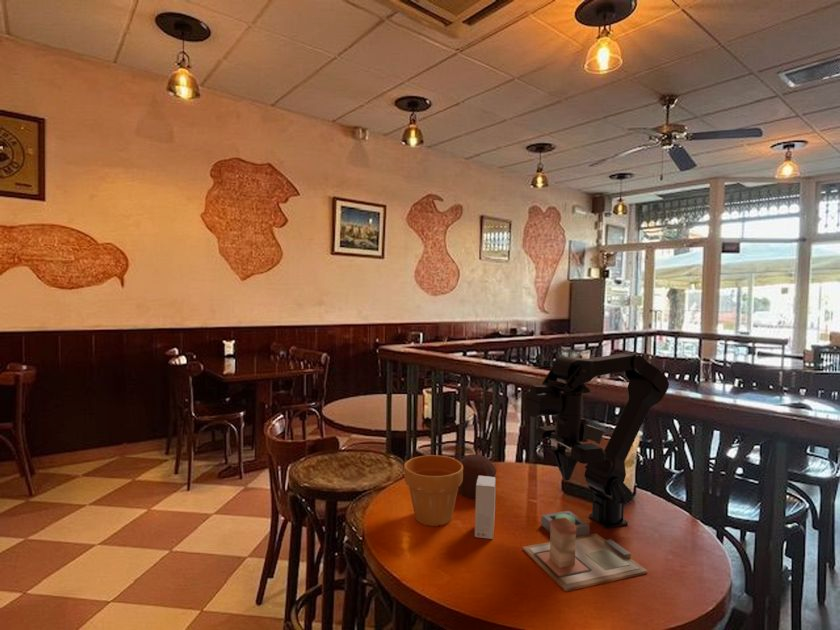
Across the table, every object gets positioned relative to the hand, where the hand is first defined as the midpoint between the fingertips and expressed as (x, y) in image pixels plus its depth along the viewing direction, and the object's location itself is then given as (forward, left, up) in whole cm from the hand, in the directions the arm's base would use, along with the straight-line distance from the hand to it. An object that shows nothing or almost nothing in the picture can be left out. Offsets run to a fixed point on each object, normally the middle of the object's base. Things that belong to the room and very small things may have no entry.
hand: (566, 479), depth 109 cm
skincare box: (+18, -5, -12) cm, 22 cm away
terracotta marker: (+9, +11, -11) cm, 18 cm away
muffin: (+11, -25, -12) cm, 30 cm away
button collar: (0, 0, -12) cm, 12 cm away
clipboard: (+4, +11, -12) cm, 17 cm away
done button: (0, 0, -12) cm, 12 cm away
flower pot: (+27, -15, -12) cm, 33 cm away
